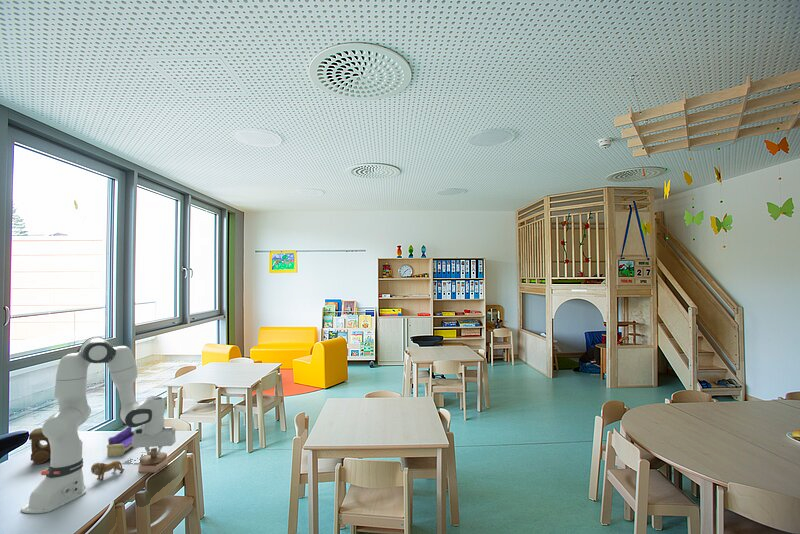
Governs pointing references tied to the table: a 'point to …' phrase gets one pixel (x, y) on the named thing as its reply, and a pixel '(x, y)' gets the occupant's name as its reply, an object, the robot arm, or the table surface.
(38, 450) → the wooden toy train
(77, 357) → the robot arm
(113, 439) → the toy sofa
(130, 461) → the mat
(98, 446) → the table surface
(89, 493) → the table surface
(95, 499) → the table surface
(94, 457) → the table surface
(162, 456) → the lid
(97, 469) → the lion figurine
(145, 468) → the open box
